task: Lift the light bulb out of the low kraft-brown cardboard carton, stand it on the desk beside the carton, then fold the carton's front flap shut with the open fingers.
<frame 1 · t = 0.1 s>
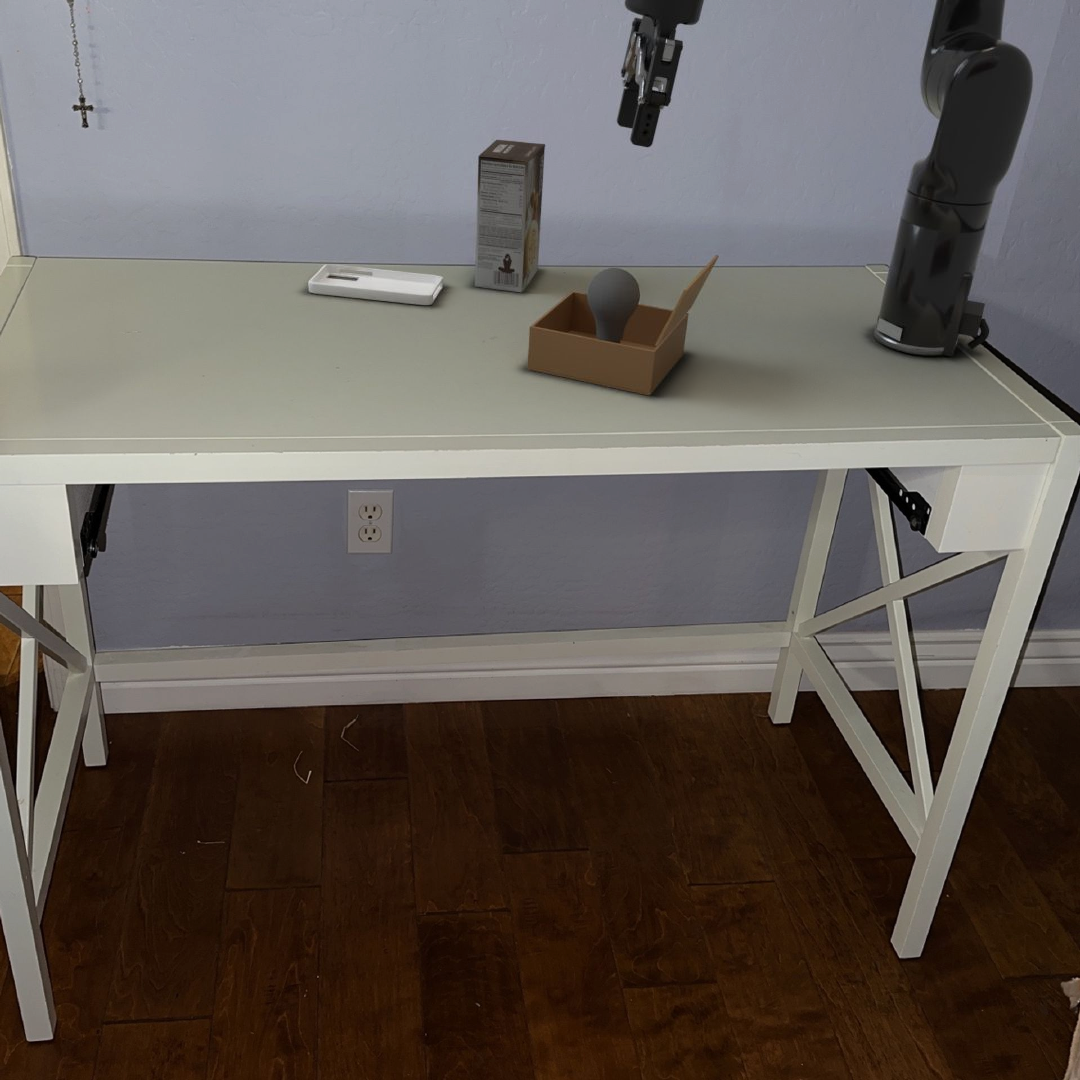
hand: (633, 135, 120), 22 cm above the table, tool pointing down, fingers open, 8 cm apart
light bulb: (607, 360, 126), resting on carton
coffee box: (506, 280, 147), on the table
flap: (687, 299, 119), point 9 cm above the table, hinge at 110.0°
phone case: (376, 291, 141), on the table
carton: (607, 361, 126), on the table
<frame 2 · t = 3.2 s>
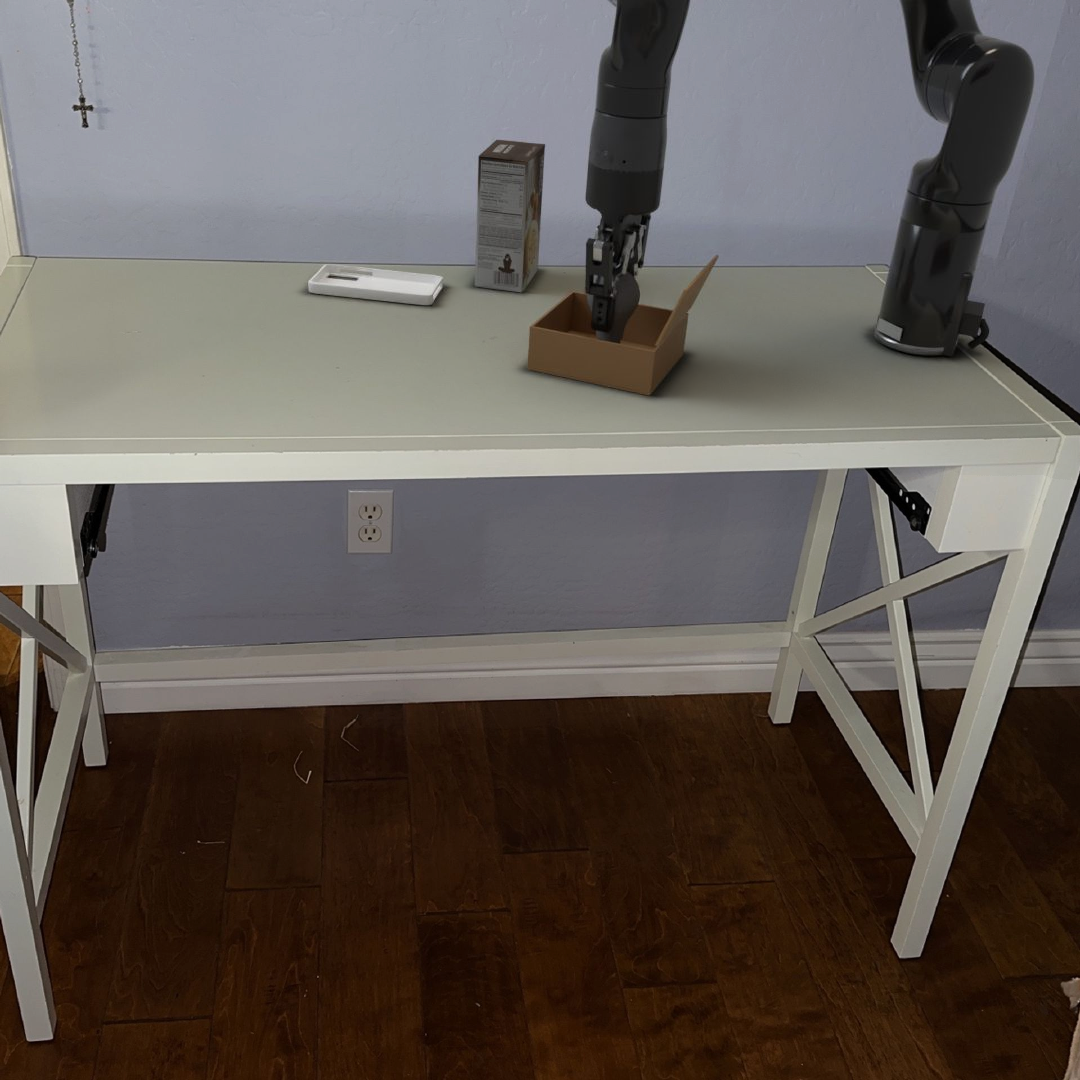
hand: (611, 320, 124), 5 cm above the table, tool pointing down, fingers closed on light bulb, 5 cm apart
light bulb: (607, 360, 126), resting on carton, touching gripper
everything else where it was.
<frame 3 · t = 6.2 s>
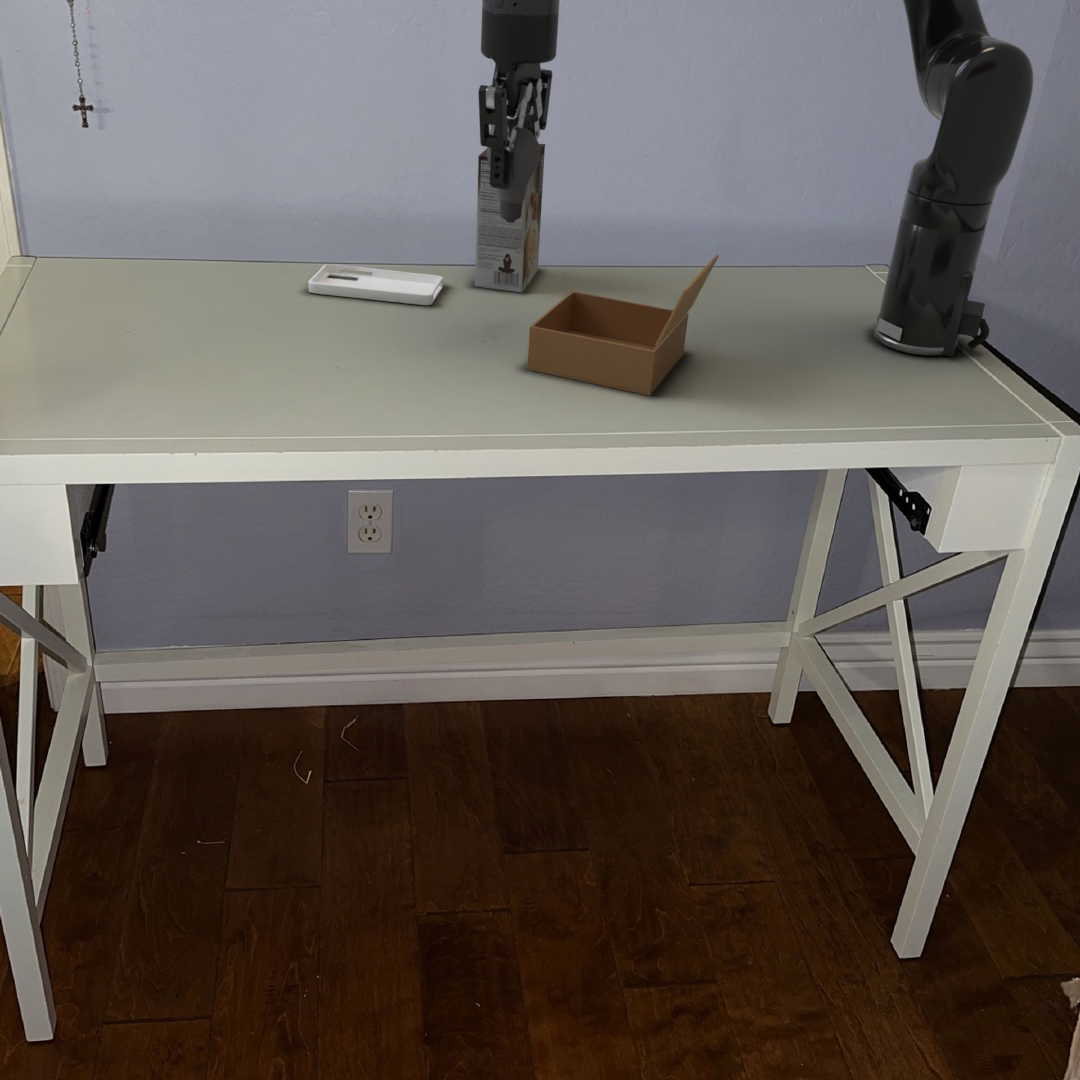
hand: (512, 180, 122), 17 cm above the table, tool pointing down, fingers closed on light bulb, 5 cm apart
light bulb: (510, 224, 125), point 13 cm above the table, touching gripper
everything else where it was.
when the fingers open (4 cm above the table, at t = 9.5 s): light bulb stays where it is, on the table.
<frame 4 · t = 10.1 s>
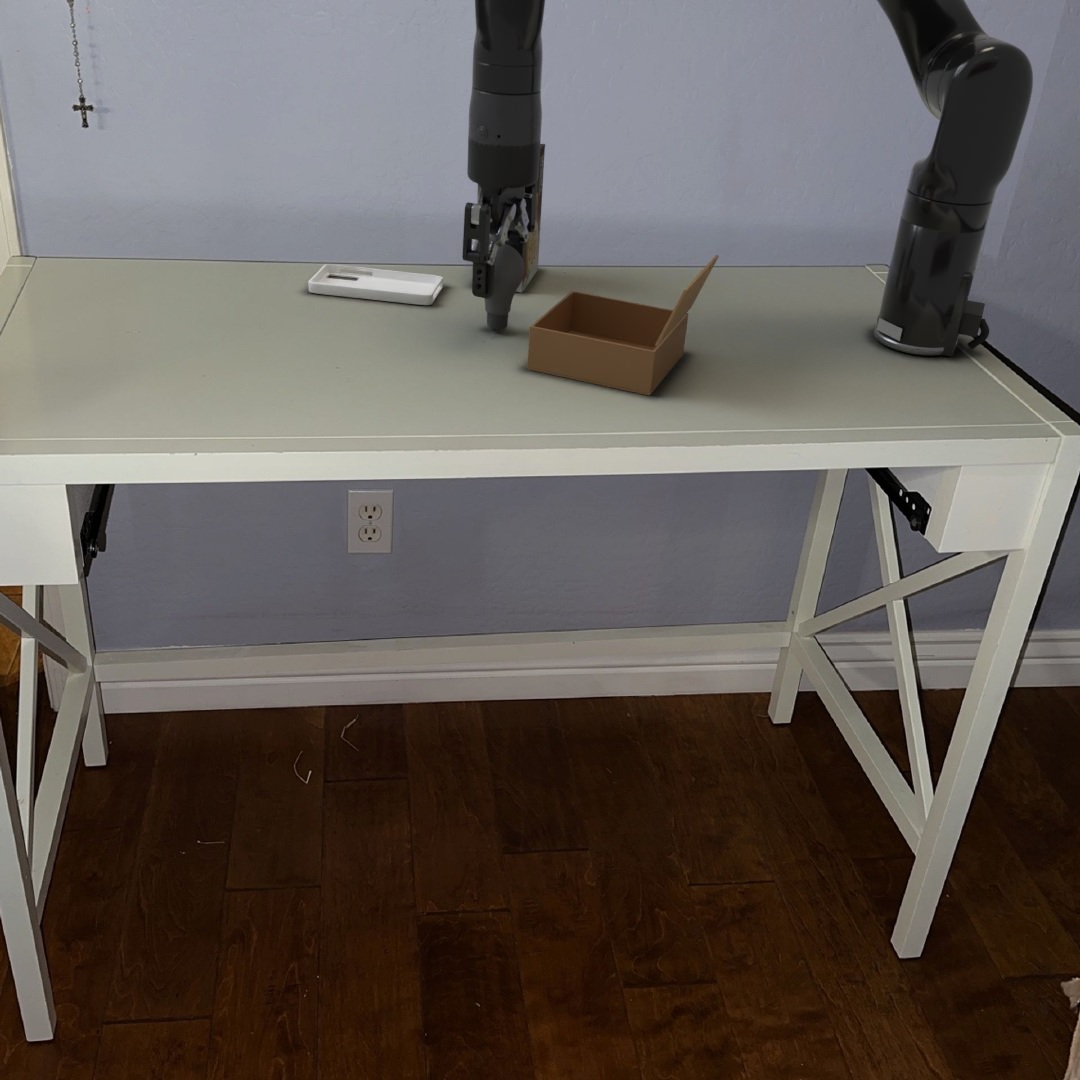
hand: (498, 285, 129), 5 cm above the table, tool pointing down, fingers open, 8 cm apart
light bulb: (496, 333, 132), on the table
everything else where it was.
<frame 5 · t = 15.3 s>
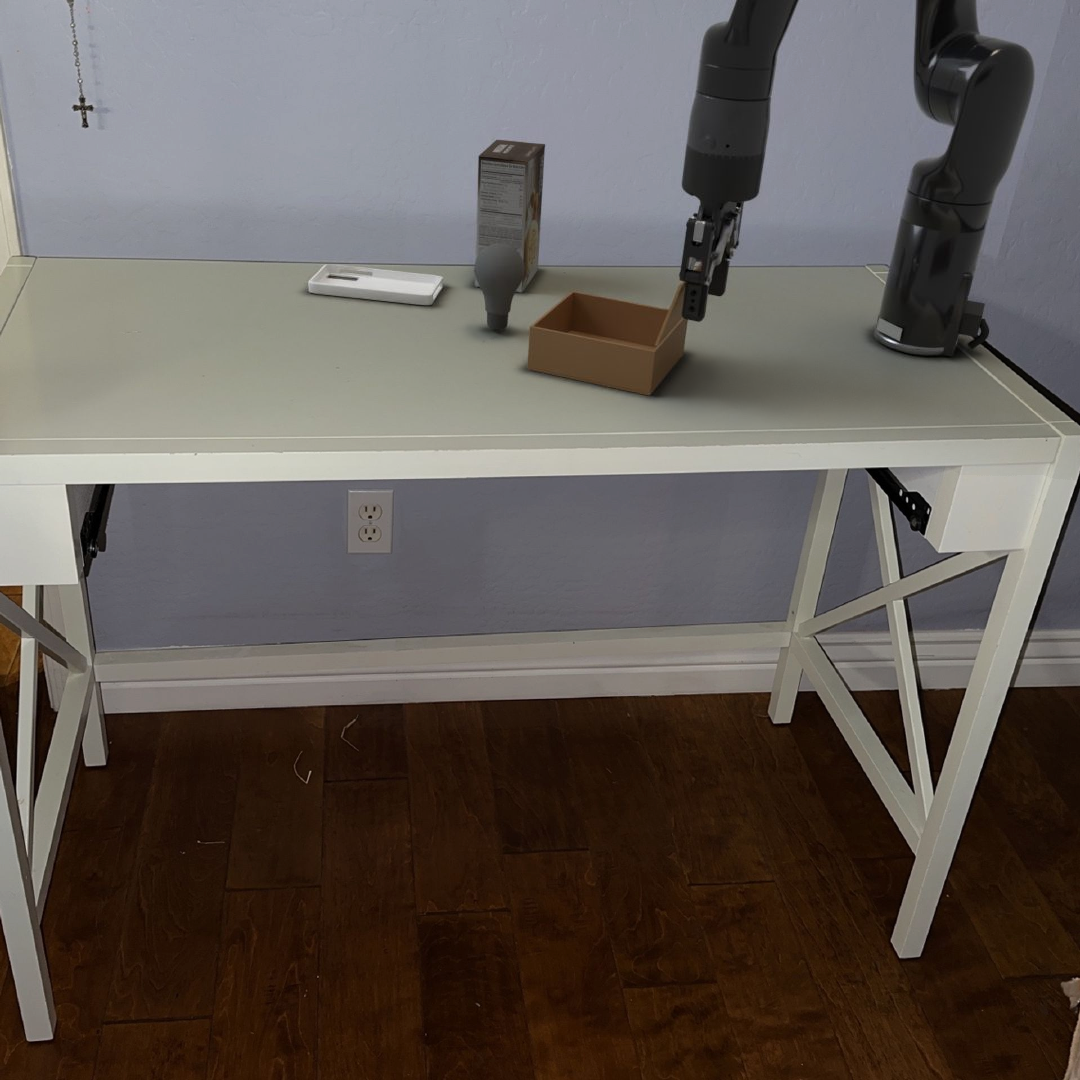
hand: (703, 306, 119), 8 cm above the table, tool pointing down, fingers open, 8 cm apart
flap: (684, 297, 119), point 9 cm above the table, hinge at 104.3°, touching gripper
everything else where it was.
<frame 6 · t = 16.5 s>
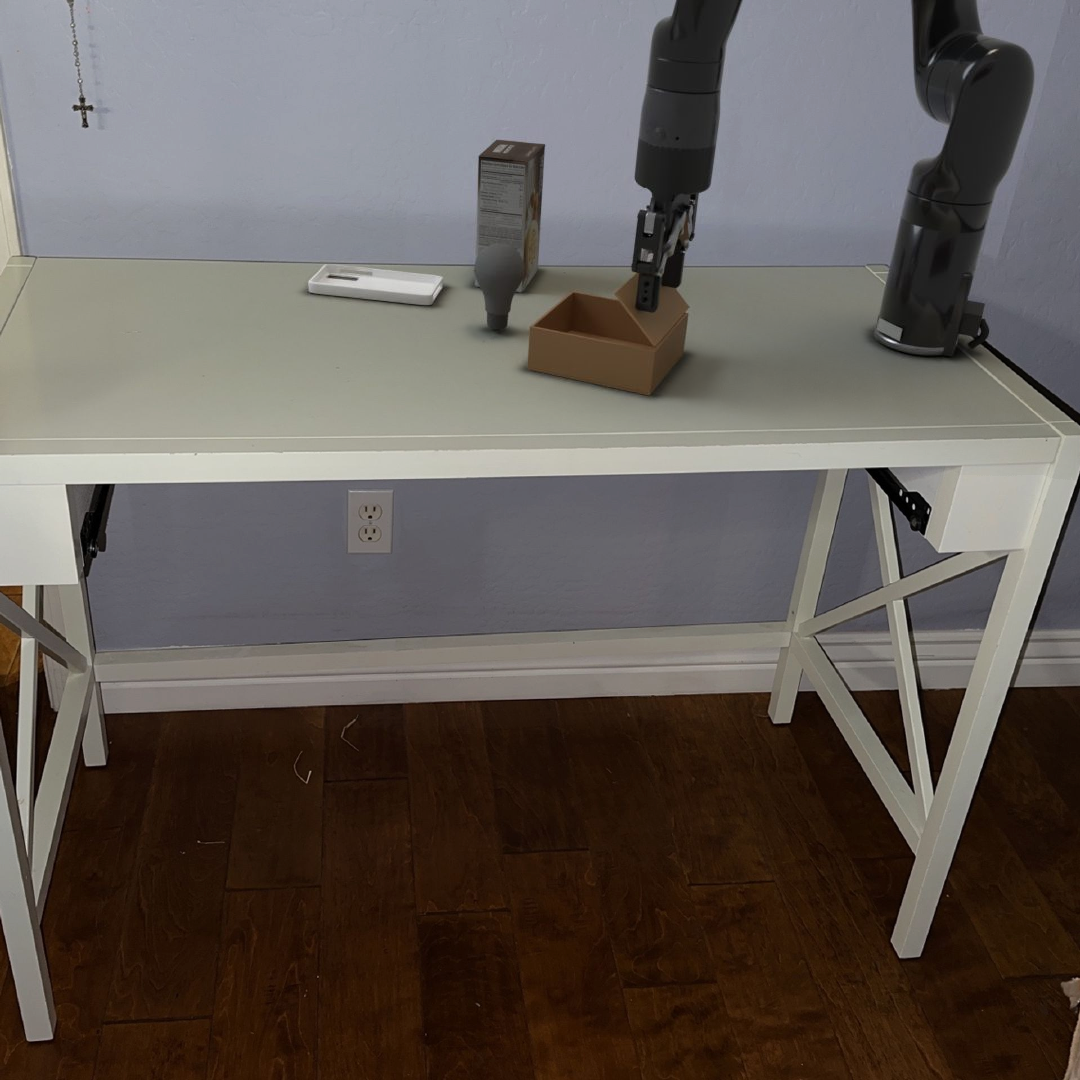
hand: (658, 297, 120), 8 cm above the table, tool pointing down, fingers open, 8 cm apart
flap: (653, 300, 121), point 8 cm above the table, hinge at 43.9°, touching gripper
everything else where it was.
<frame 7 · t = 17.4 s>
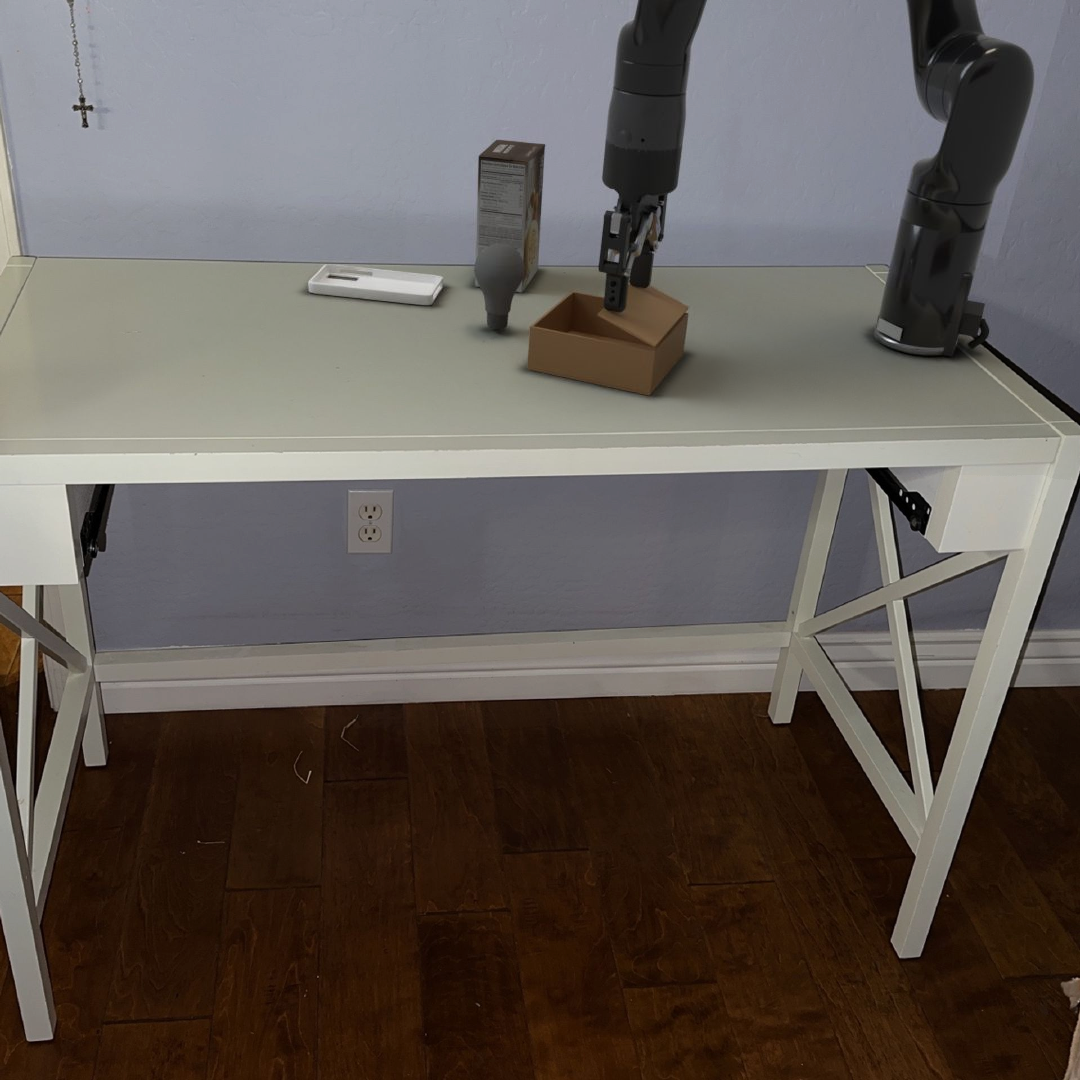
hand: (627, 297, 122), 8 cm above the table, tool pointing down, fingers open, 8 cm apart
flap: (644, 311, 122), point 6 cm above the table, hinge at 18.8°, touching gripper
everything else where it was.
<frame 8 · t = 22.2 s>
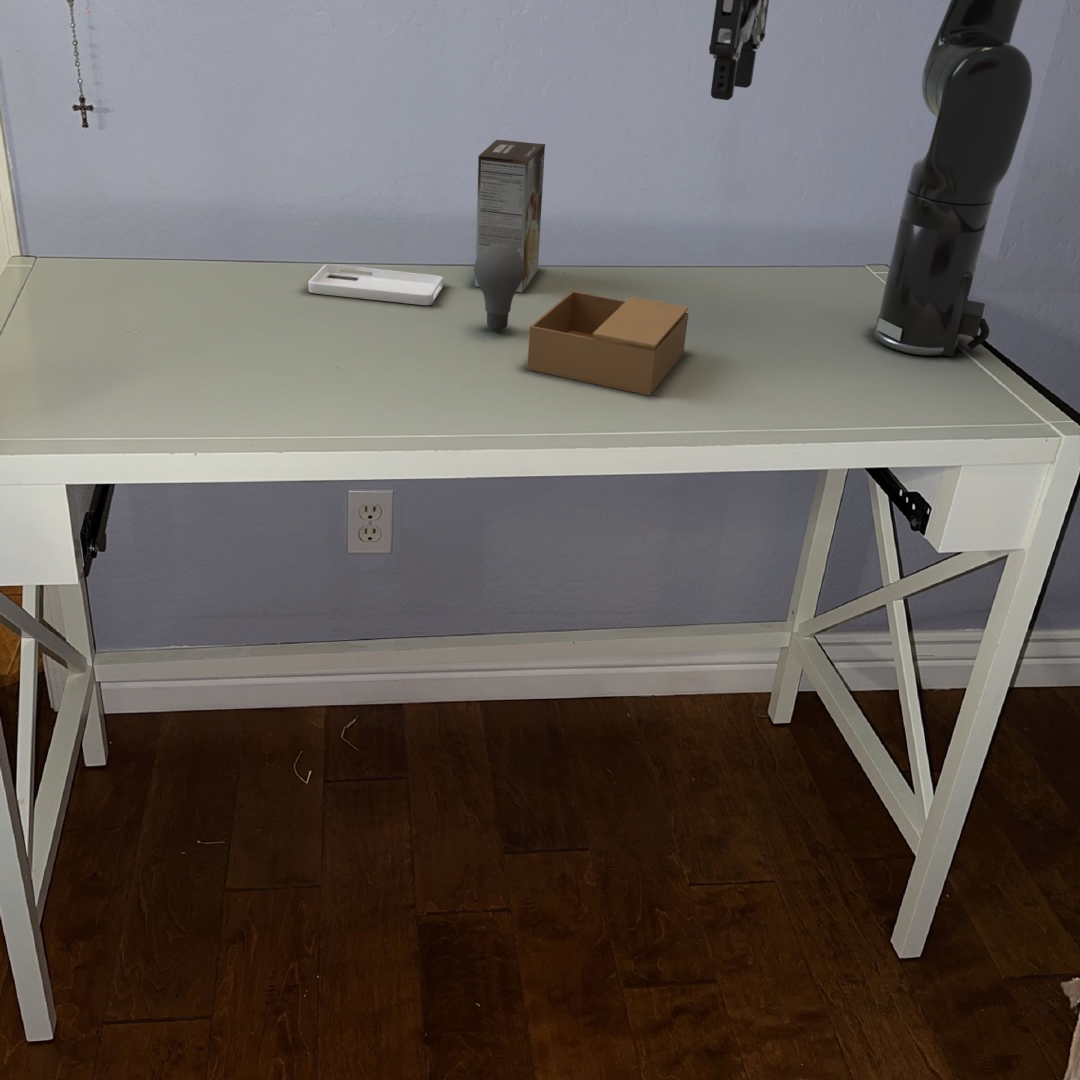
hand: (731, 92, 124), 26 cm above the table, tool pointing down, fingers open, 8 cm apart
flap: (642, 320, 122), point 5 cm above the table, hinge at -0.6°
everything else where it was.
at the end: light bulb inside the target area (0.1 cm from its centre), on the table; flap at -1° (first picture: +110°) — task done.
